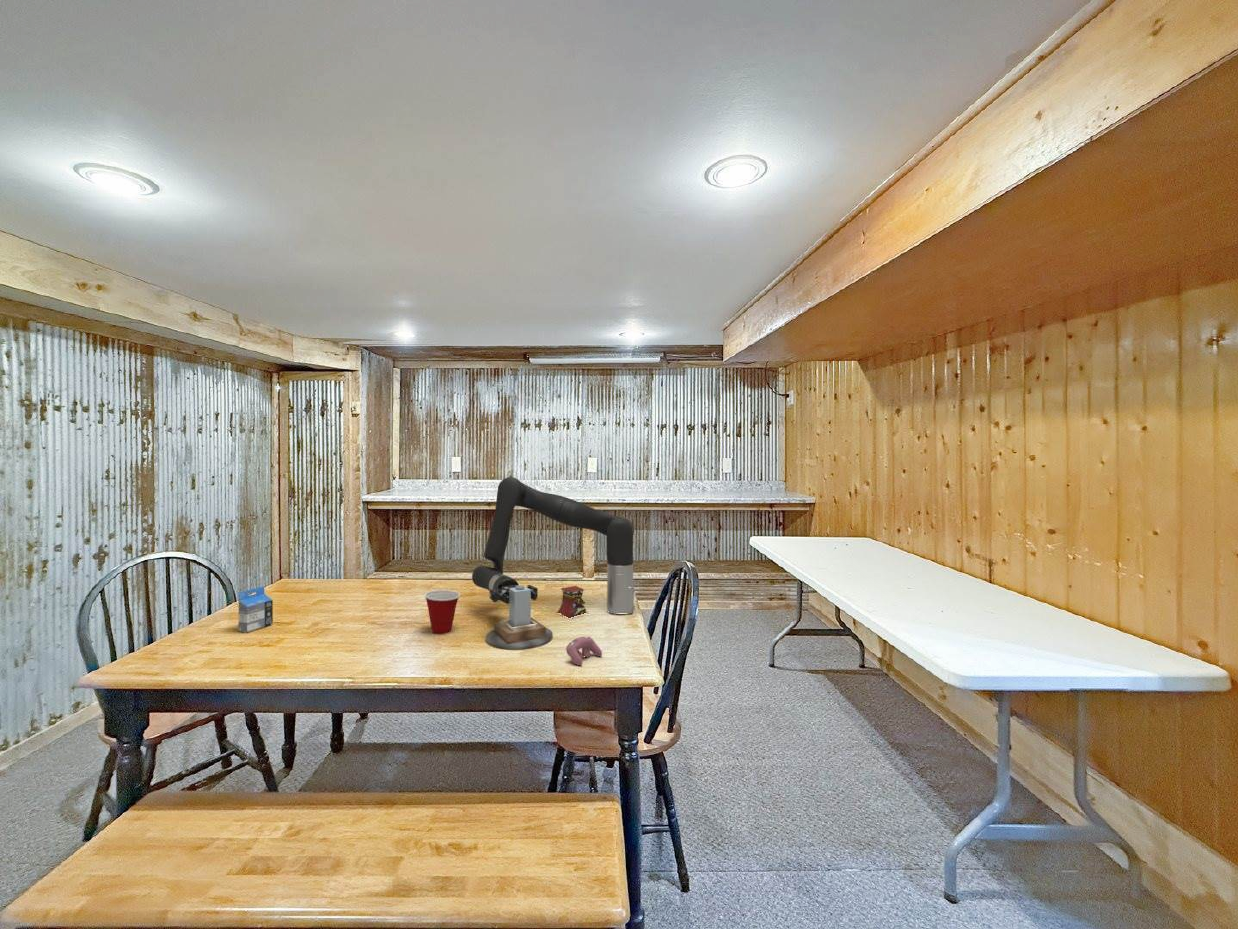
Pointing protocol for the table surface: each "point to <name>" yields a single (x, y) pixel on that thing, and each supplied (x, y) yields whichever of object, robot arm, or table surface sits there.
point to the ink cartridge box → (254, 610)
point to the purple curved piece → (586, 645)
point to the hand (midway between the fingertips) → (522, 598)
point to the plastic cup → (441, 609)
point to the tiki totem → (572, 602)
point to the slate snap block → (519, 606)
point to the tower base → (517, 645)
